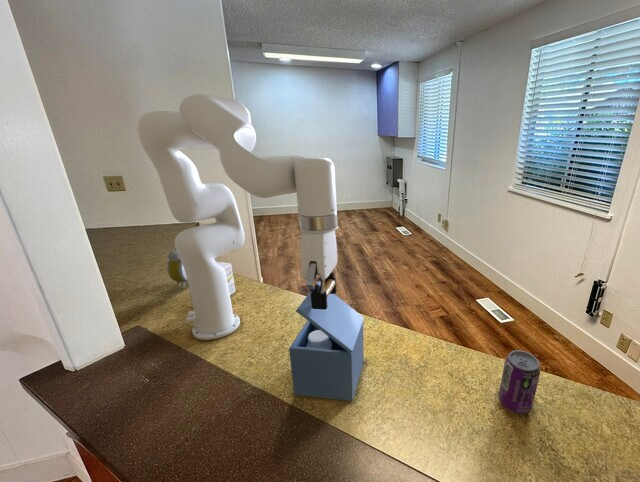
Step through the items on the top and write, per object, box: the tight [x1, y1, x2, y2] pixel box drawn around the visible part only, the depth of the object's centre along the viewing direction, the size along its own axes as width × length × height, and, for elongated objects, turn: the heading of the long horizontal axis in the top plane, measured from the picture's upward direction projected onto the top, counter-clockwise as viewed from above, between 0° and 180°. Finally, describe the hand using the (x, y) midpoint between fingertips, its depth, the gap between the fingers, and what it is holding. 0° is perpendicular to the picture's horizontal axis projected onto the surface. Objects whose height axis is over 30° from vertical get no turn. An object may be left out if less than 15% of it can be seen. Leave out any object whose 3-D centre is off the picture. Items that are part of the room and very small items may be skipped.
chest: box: [288, 319, 365, 402], centre depth 72 cm, size 14×13×13 cm
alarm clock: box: [166, 249, 188, 290], centre depth 116 cm, size 12×7×15 cm, turn 179°
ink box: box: [216, 261, 236, 296], centre depth 108 cm, size 9×8×12 cm
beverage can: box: [498, 349, 541, 415], centre depth 66 cm, size 7×7×12 cm
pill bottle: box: [306, 330, 332, 350], centre depth 72 cm, size 6×6×11 cm
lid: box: [295, 279, 365, 353], centre depth 67 cm, size 14×13×6 cm
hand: (324, 299), depth 67 cm, fingers closed on lid, 6 cm apart
